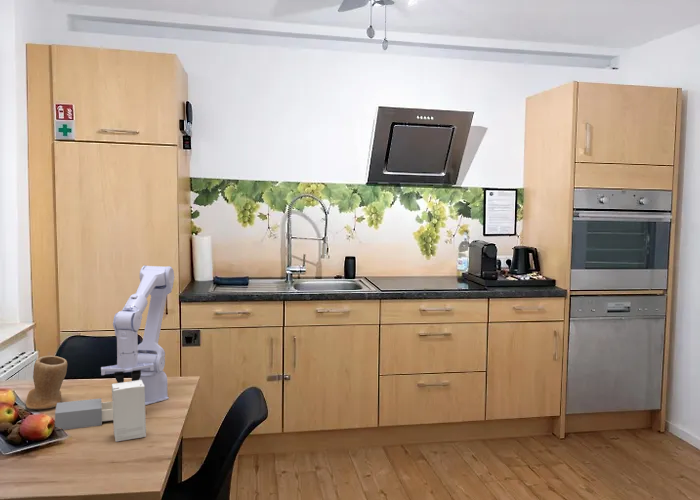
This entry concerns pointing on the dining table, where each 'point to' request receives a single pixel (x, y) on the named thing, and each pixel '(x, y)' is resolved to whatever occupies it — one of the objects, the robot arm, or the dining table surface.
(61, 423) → the carton
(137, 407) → the skincare box
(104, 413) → the white pull-out drawer
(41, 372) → the stone cup
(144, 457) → the dining table surface
